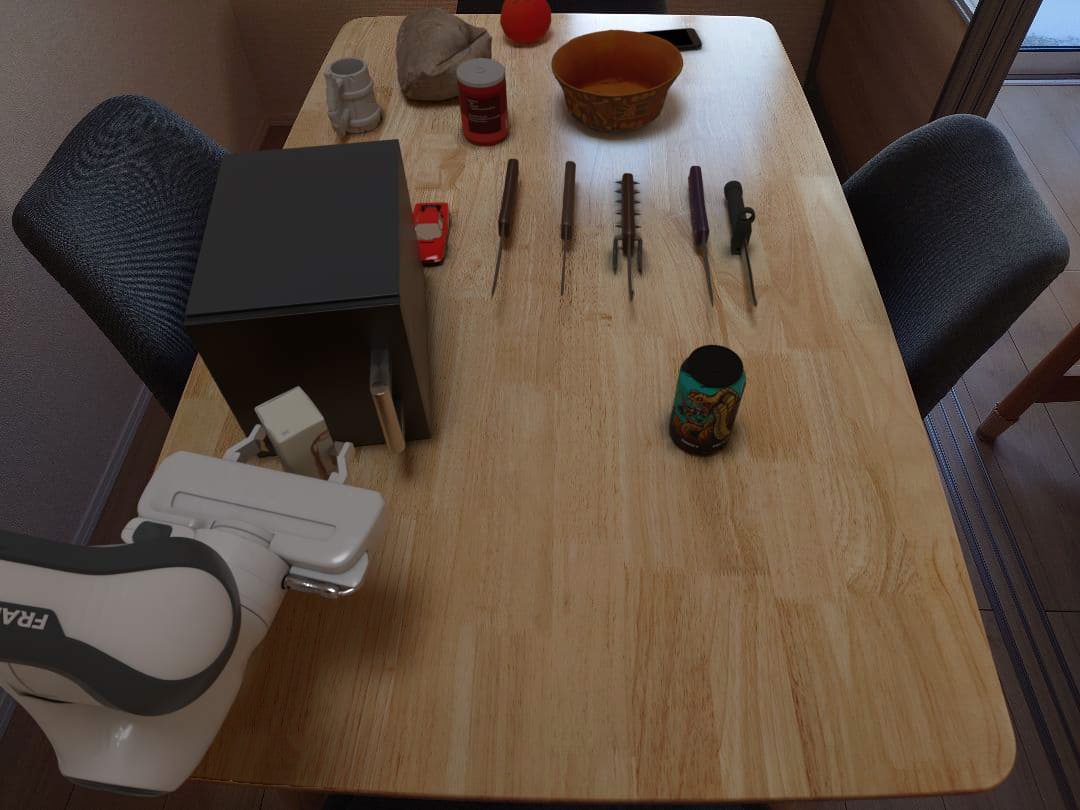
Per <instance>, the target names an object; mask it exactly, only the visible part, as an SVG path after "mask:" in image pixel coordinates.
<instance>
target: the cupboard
mask: <svg viewBox="0 0 1080 810" xmlns="http://www.w3.org/2000/svg"><path fill="white" fill-rule="evenodd" d="M401 149H402V148H401V144H400V139H399V138H392V139H391V138H390V139H383V140H382V139H380V140H368V141H356V142H347V143H346V142H345V143H336V144H335V143H333V144H323V145H312V146H302V147H301V146H300V147H289V148H279V149H278V148H277V149H266V150H254V151H245V152H230V153H223V154H222V158H221V162H220V167H219V170H218V171H219V172H218V174H217V179H216V183H215V188H214V192H213V196H212V200H211V204H210V209H209V213H208V218H207V222H206V225H205V229H204V234H203V238H202V241H201V246H200V249H199V250H200V251H199V255H198V258H197V262H196V267H195V270H194V275H193V279H192V283H191V288H190V291H189V296H188V300H187V305H186V309H185V313H184V316H185V318H191V317H201V316H211V315H221V314H231V313H241V312H251V311H261V310H271V309H282V308H292V307H302V306H312V305H322V304H332V303H342V302H352V301H362V300H372V299H382V298H392V297H400V300H401V305H402V309H403V313H404V318H405V322H406V326H407V331H408V335H409V339H410V344H411V348H412V352H413V357H414V361H415V365H416V370H417V374H418V378H419V382H420V387H421V391H422V395H423V400H424V404H425V408H426V413H427V417H428V421H429V426H430V430H431V431H432V425H431V395H430V369H429V342H428V341H429V340H428V339H429V337H428V315H427V313H428V311H427V290H426V289H427V288H426V287H427V286H426V276H425V271H424V265H422V260H421V254H420V249H419V244H418V238H417V233H416V228H415V223H414V217H413V207H412V203H411V198H410V192H409V191H410V190H409V185H408V181H407V175H406V170H405V165H404V161H403V155H402V150H401Z"/></svg>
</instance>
